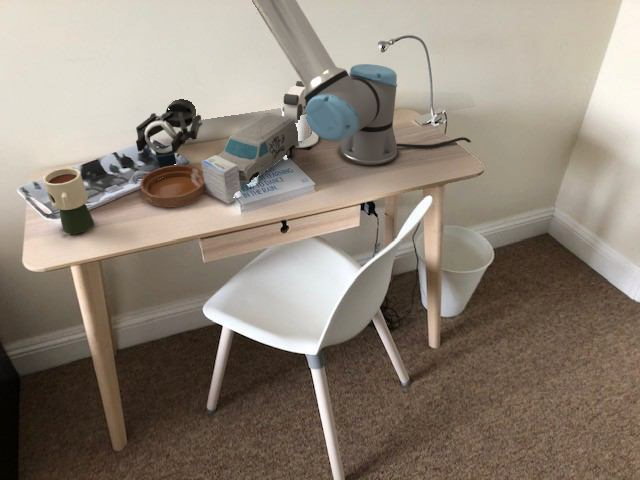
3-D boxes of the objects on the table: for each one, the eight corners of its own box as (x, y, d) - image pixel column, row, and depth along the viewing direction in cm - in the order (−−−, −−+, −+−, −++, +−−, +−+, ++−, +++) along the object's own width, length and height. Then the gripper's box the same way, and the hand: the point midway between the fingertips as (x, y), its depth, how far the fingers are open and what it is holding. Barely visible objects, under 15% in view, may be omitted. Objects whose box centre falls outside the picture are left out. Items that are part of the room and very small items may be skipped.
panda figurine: (310, 151, 142) (309, 98, 133) (271, 145, 145) (268, 93, 135) (323, 133, 151) (323, 82, 142) (286, 128, 154) (284, 77, 145)
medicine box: (242, 197, 123) (238, 164, 118) (227, 205, 121) (223, 172, 115) (220, 185, 127) (215, 154, 122) (205, 193, 125) (200, 161, 120)
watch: (184, 163, 134) (177, 123, 128) (152, 169, 132) (143, 129, 125) (180, 154, 138) (173, 115, 132) (149, 160, 136) (140, 120, 129)
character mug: (62, 217, 116) (43, 166, 108) (96, 211, 118) (80, 160, 110) (61, 245, 108) (41, 192, 100) (97, 238, 110) (80, 186, 102)
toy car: (212, 181, 129) (207, 144, 123) (268, 142, 146) (266, 108, 140) (247, 192, 125) (244, 155, 119) (301, 150, 142) (300, 116, 136)
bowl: (213, 177, 131) (212, 166, 129) (197, 210, 119) (195, 199, 117) (155, 174, 132) (153, 163, 130) (133, 207, 120) (130, 195, 118)
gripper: (221, 123, 147) (200, 162, 129) (149, 121, 148) (118, 159, 130) (218, 98, 142) (195, 134, 124) (144, 95, 144) (110, 131, 126)
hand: (156, 147), depth 127 cm, fingers closed on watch, 8 cm apart
